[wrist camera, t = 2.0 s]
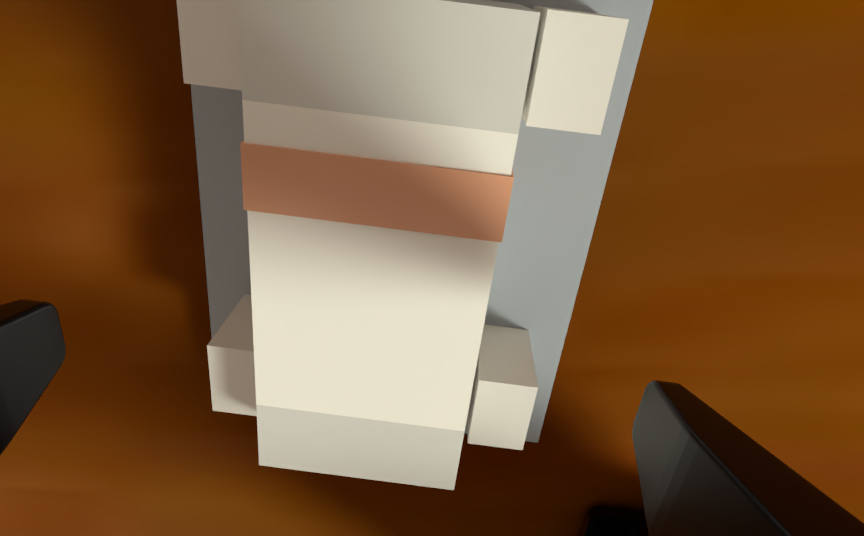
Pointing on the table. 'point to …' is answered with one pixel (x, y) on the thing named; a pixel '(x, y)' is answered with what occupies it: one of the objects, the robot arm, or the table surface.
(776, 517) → the robot arm
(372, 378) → the fuse
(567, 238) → the holder
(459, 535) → the table surface
